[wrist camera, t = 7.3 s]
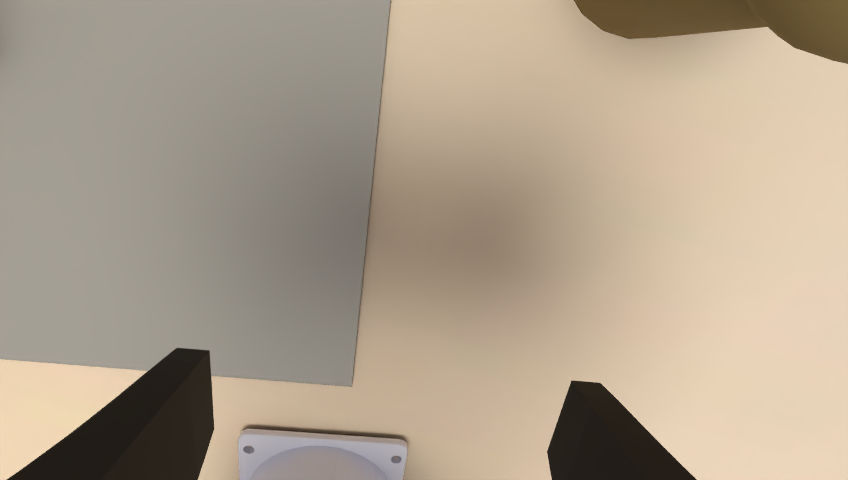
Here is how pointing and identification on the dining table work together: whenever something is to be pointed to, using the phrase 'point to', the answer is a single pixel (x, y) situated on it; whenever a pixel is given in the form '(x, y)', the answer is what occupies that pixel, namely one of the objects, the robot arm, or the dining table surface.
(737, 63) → the dining table surface
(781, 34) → the olive pawn
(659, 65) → the dining table surface
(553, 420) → the dining table surface
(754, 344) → the dining table surface
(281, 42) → the mat
